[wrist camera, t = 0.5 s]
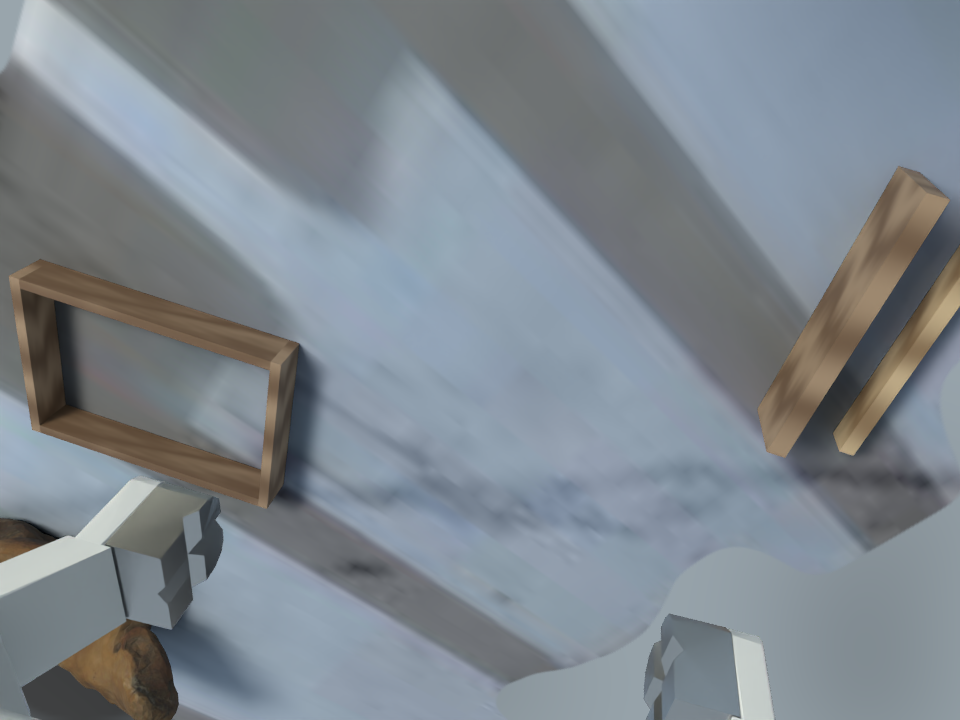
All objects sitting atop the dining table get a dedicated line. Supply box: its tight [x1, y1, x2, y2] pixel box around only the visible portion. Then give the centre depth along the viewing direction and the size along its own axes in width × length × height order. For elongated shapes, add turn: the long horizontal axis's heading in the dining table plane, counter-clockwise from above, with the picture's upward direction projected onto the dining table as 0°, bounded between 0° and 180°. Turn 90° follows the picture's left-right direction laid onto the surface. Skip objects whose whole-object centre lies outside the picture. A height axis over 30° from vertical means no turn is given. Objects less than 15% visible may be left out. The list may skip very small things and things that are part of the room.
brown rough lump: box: [0, 518, 179, 720], centre depth 88 cm, size 37×18×15 cm, turn 50°
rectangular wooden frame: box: [9, 259, 299, 509], centre depth 72 cm, size 19×27×4 cm
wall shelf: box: [757, 166, 960, 458], centre depth 52 cm, size 22×8×6 cm, turn 166°
